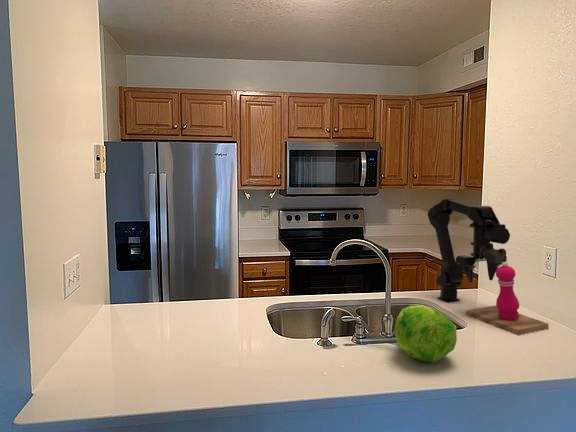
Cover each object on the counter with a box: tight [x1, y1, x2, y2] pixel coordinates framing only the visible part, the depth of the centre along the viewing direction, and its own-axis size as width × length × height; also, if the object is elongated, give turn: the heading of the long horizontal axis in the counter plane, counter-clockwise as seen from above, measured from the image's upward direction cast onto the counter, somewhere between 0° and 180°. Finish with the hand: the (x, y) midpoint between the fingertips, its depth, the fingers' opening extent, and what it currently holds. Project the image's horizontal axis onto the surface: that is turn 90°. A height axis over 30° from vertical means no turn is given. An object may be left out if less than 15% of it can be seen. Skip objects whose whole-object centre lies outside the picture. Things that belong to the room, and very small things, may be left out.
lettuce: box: [394, 304, 458, 363], centre depth 121 cm, size 17×20×15 cm
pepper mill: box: [495, 261, 520, 320], centre depth 145 cm, size 7×7×20 cm
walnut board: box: [465, 305, 549, 336], centre depth 148 cm, size 22×14×2 cm, turn 21°
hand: (480, 281), depth 157 cm, fingers open, 9 cm apart
